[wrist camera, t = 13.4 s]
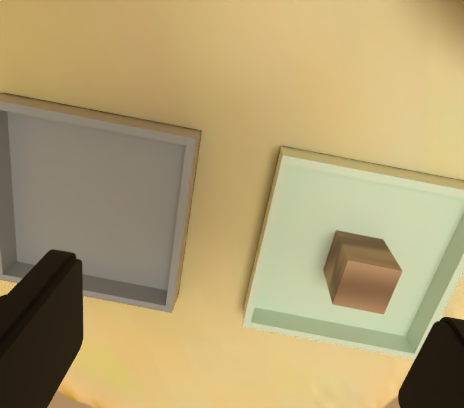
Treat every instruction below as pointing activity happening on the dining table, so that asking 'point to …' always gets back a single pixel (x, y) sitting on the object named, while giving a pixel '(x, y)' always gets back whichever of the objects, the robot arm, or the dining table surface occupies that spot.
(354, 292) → the walnut block
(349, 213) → the pale green bin
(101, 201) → the grey bin
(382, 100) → the dining table surface
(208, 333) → the dining table surface
